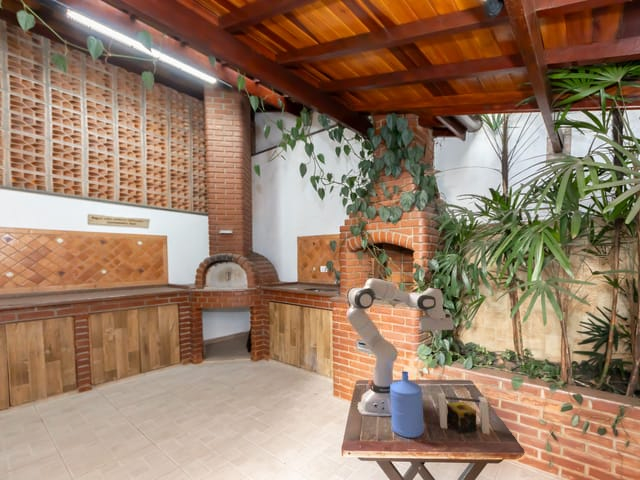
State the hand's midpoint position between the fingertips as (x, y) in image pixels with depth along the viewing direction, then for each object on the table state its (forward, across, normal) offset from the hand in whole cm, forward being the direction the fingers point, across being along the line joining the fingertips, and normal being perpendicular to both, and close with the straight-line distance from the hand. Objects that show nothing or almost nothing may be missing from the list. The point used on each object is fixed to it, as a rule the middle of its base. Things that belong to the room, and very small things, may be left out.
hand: (436, 337), depth 182 cm
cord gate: (+37, -1, -29) cm, 47 cm away
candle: (+37, -1, -28) cm, 47 cm away
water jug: (+37, -29, -27) cm, 54 cm away
